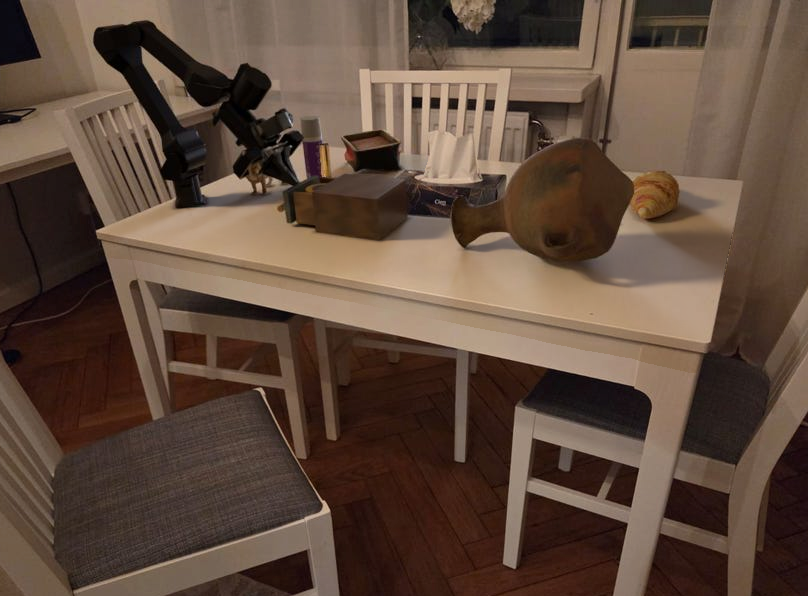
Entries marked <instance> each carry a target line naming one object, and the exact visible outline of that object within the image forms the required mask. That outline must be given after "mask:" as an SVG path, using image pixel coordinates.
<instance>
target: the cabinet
mask: <svg viewBox="0 0 808 596" xmlns="http://www.w3.org/2000/svg"><path fill="white" fill-rule="evenodd" d="M335 178H336V179H334V180H332V181H331V182H329V183H327V184H325V185H324V186H322V187H320V188H318V189H316V190H315V191H313V192H312V199H313V208H314V217H315V225H314V227H315V232H316V233H322V234H328V235H329V234H330V235H336V236H344V237H351V238H358V239H365V240H372V241H380V240H382V239H383V238H385V237H386V236H387V235H388V234H389V233H391V232H392V231H393V230H394V229H396V228H397V227H398V226H399V225H401V224H402V223H403V222H404V221H406V220H407V219H408V193H407V191H408V189H407V179H406V178H399V177H387V176H374V175H366V174H355V173H343V174H341V175H340V176H338V177H335Z"/></svg>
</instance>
